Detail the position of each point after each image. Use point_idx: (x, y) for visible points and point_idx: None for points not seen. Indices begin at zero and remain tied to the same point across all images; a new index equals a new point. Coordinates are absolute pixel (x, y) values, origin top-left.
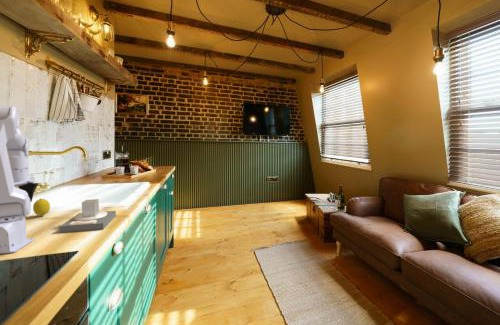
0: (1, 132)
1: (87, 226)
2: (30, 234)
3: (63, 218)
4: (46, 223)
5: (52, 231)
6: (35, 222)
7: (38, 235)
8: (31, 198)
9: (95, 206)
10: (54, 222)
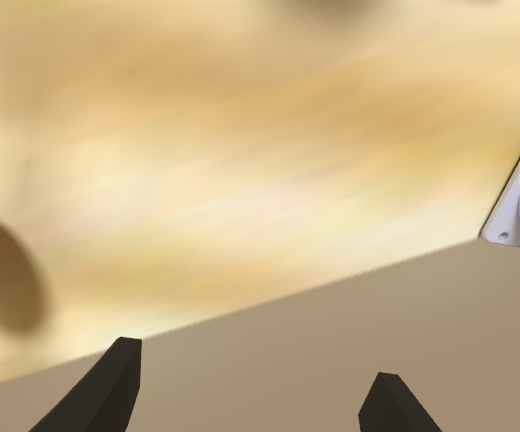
0: None
1: None
2: (401, 153)
3: (52, 25)
4: (171, 129)
5: (422, 11)
6: (122, 210)
7: (461, 93)
8: (116, 375)
9: None
10: (162, 73)
